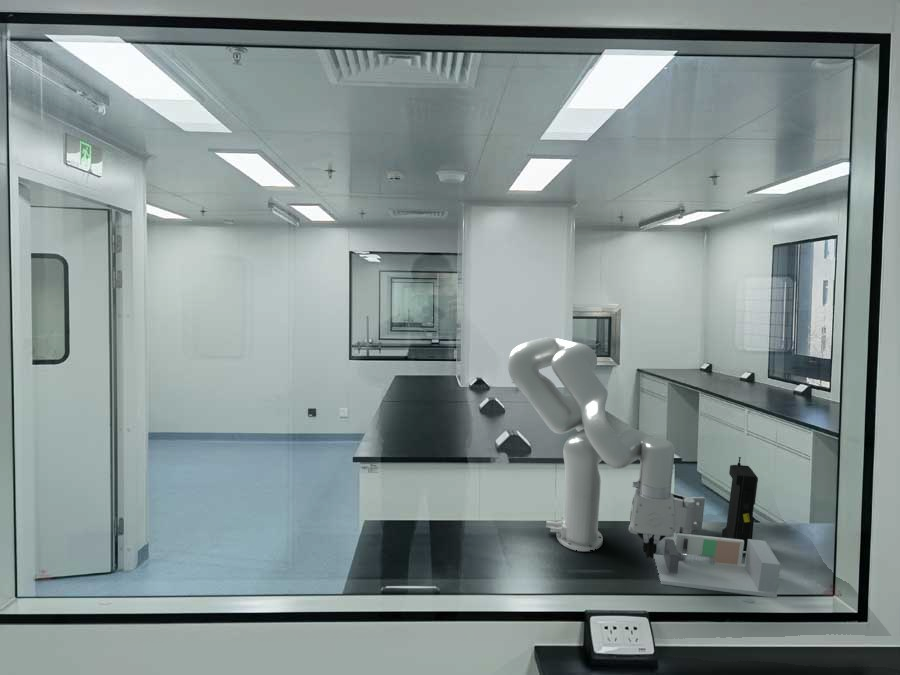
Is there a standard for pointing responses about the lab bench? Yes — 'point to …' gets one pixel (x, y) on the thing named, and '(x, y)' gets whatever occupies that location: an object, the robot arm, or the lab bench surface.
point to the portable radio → (741, 504)
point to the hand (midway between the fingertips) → (648, 554)
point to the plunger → (682, 556)
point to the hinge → (688, 513)
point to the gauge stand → (724, 566)
